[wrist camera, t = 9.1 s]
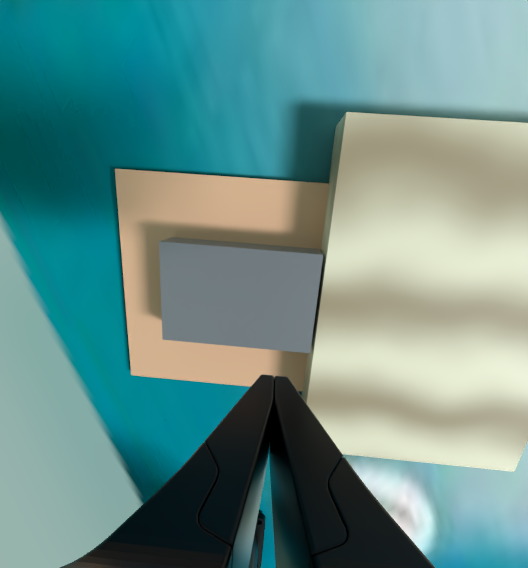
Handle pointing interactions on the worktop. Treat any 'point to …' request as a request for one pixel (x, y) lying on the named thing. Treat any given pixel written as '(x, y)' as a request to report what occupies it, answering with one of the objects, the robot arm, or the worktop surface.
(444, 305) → the cream wavy flat block
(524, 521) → the worktop surface
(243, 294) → the grey rectangular block
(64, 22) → the worktop surface
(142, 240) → the mat
